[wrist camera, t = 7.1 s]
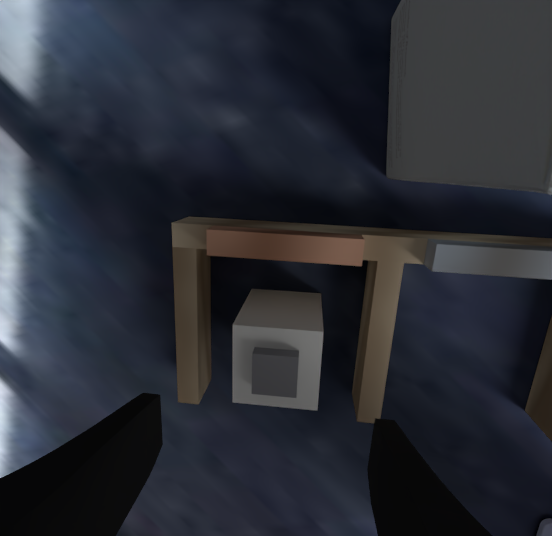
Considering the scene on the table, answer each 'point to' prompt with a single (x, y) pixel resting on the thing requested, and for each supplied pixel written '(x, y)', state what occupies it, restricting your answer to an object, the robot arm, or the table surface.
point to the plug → (278, 349)
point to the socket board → (377, 296)
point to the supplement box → (471, 93)
